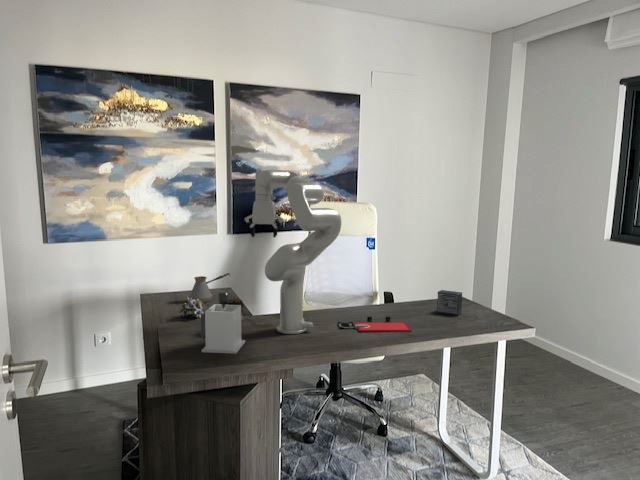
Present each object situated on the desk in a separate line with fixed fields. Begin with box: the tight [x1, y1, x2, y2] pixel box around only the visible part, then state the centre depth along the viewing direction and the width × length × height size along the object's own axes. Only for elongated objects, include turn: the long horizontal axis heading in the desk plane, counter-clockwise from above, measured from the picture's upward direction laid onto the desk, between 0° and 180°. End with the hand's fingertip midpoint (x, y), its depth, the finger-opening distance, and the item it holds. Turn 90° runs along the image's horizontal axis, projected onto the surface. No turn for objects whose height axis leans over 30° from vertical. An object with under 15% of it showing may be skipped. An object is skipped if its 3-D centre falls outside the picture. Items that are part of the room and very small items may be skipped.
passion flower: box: [179, 296, 204, 319], centre depth 217 cm, size 11×11×12 cm
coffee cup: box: [225, 298, 245, 324], centre depth 197 cm, size 9×8×13 cm
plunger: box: [217, 291, 229, 312], centre depth 177 cm, size 8×8×20 cm
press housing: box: [200, 303, 246, 355], centre depth 177 cm, size 15×13×15 cm
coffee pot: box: [189, 272, 231, 304], centre depth 248 cm, size 21×12×15 cm, turn 97°
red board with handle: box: [337, 316, 413, 333], centre depth 205 cm, size 30×3×15 cm
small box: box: [436, 289, 463, 316], centre depth 229 cm, size 11×6×10 cm, turn 58°
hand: (263, 236), depth 210 cm, fingers open, 9 cm apart
